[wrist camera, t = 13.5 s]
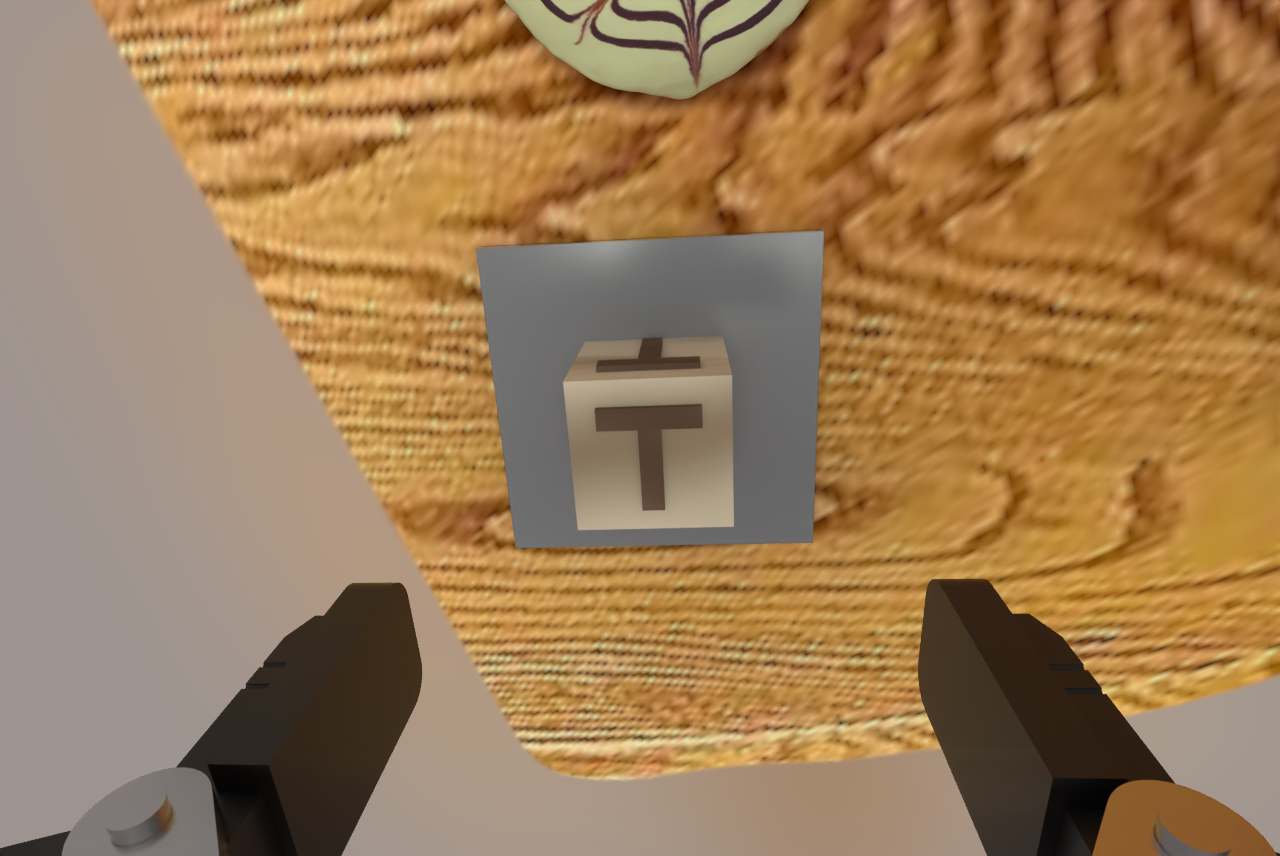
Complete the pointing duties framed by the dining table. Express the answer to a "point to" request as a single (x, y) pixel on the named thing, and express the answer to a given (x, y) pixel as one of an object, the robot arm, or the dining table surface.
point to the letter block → (651, 433)
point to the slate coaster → (660, 308)
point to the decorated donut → (657, 38)
